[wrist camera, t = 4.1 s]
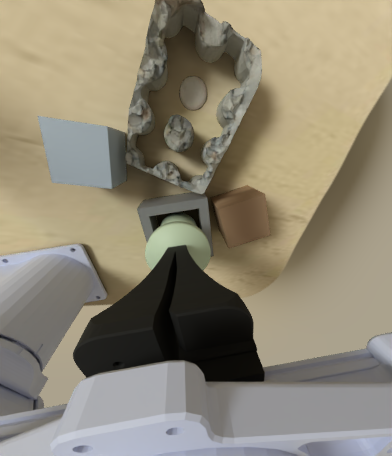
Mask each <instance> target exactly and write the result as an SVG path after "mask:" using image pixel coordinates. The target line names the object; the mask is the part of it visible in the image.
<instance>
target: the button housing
mask: <svg viewBox="0 0 392 456" xmlns="http://www.w3.org/2000/svg"><path fill="white" fill-rule="evenodd" d="M192 209H197V210H198V218H199V225H200V229H201V230H202V231H203V232H204V234H205V235H206V237H207V239H208V242H209V245H210V250H211V256H213V247H212V237H211V228H210V219H209V209H208V200H207V197H206V195H205V193H203V194H199V193H195V192H190V193H184V194H177V195H171V196H164V197H158V198H151V199H145V200H143V201H142V203H141V204H140V206H139V207H138V208H137V211H138V214H139V217H140V221H141V224H142V227H143V231H144V234H145V237H146V241H147V243H148V240H149V238H150V236H151V234H152V233H153V232H154V231H155V230H156V229H157V228H158V227H159V225H158V221H157V217H156V215H160V214H167V213H173V212H179V211H186V210H192ZM211 256H210V257H211Z"/></svg>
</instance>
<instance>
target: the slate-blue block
mask: <svg viewBox="0 0 392 456" xmlns="http://www.w3.org/2000/svg"><path fill="white" fill-rule="evenodd" d="M38 120H39V124H40V129H41V134H42V138H43V143H44V147H45V152H46V157H47V161H48V166H49V170H50V175H51V180H52V183H61V184H71V185H80V186H90V187H100V188H109V189H112V188H114V187H116V186H118V185H120V184H121V183H123V182H125V181H127V171H126V162H125V156H126V146H125V132H122V131H119V130H116V129H113V128H110V127H107V126H101V125H94V124H87V123H81V122H74V121H68V120H61V119H55V118H48V117H41V116H38Z"/></svg>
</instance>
